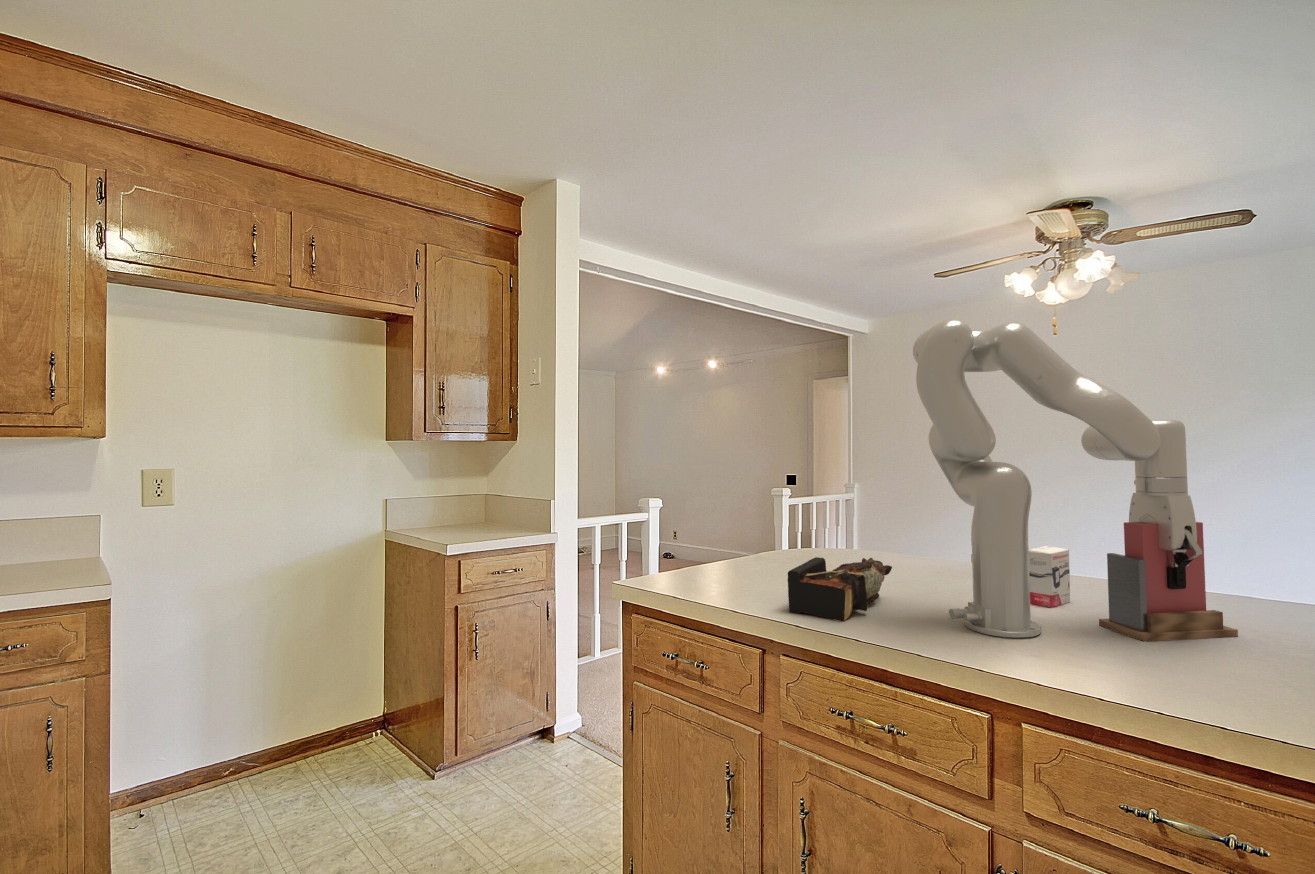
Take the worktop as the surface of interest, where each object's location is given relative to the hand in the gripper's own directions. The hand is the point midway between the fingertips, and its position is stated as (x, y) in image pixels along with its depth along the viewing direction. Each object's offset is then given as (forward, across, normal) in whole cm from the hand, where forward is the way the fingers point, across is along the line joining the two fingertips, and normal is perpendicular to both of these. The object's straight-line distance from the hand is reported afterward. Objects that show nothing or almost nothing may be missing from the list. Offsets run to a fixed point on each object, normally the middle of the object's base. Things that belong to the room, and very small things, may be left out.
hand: (1164, 584), depth 115 cm
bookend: (+9, -28, -50) cm, 58 cm away
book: (+4, 0, 0) cm, 4 cm away
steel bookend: (+8, 0, -8) cm, 11 cm away
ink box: (+9, -22, -6) cm, 24 cm away
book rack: (+8, 0, 0) cm, 8 cm away
